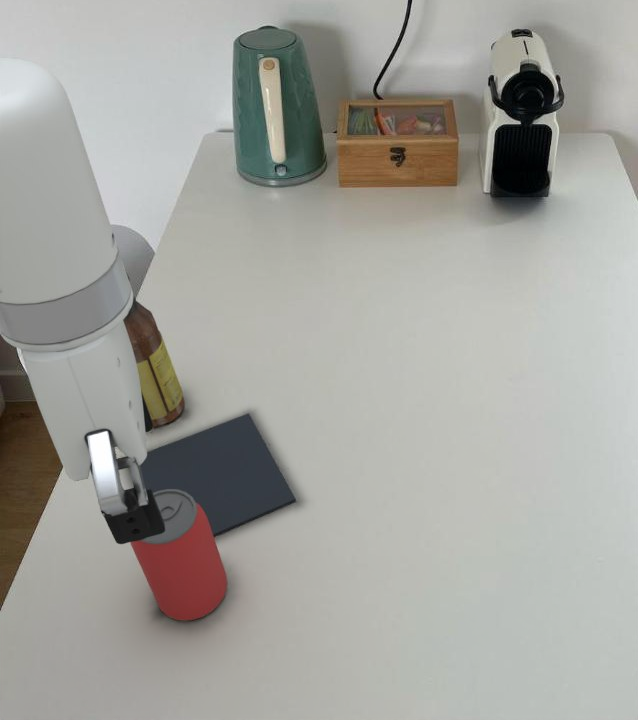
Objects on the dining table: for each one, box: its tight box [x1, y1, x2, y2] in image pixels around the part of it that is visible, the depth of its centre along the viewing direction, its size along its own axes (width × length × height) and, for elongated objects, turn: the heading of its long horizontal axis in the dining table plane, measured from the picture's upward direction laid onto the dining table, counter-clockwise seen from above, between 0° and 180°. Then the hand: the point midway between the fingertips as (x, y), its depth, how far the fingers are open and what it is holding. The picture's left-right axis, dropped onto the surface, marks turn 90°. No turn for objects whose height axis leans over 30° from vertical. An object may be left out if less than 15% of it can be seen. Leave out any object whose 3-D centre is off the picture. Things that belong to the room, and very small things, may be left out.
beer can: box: [130, 489, 228, 621], centre depth 72 cm, size 7×7×12 cm
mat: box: [140, 412, 297, 537], centre depth 86 cm, size 14×14×1 cm
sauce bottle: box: [123, 268, 185, 428], centre depth 87 cm, size 6×6×20 cm
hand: (136, 480), depth 57 cm, fingers open, 9 cm apart
